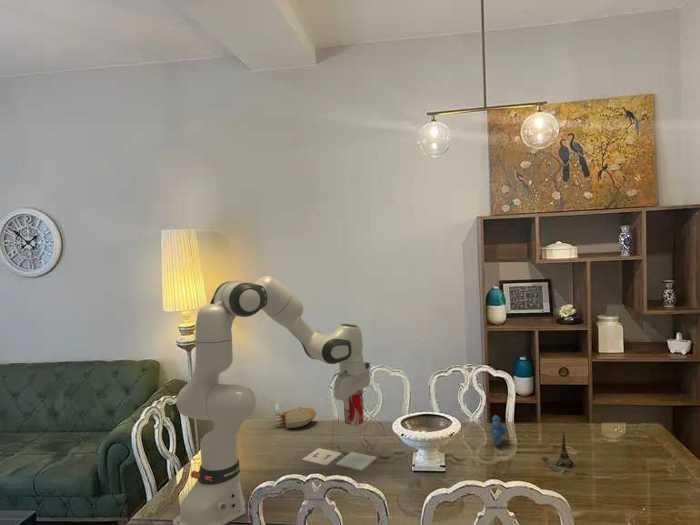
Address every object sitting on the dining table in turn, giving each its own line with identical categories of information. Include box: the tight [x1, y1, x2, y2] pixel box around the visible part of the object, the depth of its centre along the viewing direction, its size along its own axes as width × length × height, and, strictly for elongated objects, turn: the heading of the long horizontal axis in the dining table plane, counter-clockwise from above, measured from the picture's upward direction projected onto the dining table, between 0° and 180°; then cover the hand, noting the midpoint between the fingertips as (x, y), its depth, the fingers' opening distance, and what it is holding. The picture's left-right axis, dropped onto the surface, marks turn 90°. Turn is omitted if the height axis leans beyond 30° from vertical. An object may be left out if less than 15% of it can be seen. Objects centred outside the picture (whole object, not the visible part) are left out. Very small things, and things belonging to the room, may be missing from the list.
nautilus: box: [268, 406, 317, 429], centre depth 226 cm, size 8×22×15 cm
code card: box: [301, 447, 343, 466], centre depth 192 cm, size 11×11×1 cm
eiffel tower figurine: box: [540, 429, 588, 476], centre depth 176 cm, size 15×10×13 cm
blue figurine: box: [489, 414, 509, 446], centre depth 195 cm, size 12×7×12 cm, turn 164°
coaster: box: [335, 451, 378, 471], centre depth 187 cm, size 11×11×1 cm
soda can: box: [343, 391, 364, 427], centre depth 186 cm, size 7×7×12 cm
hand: (353, 404), depth 186 cm, fingers closed on soda can, 7 cm apart
